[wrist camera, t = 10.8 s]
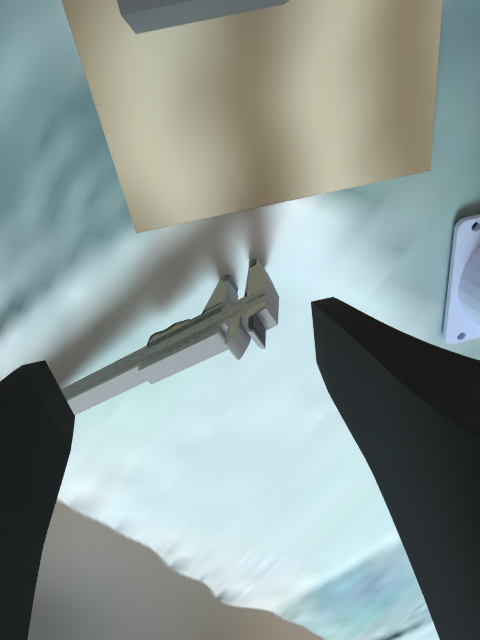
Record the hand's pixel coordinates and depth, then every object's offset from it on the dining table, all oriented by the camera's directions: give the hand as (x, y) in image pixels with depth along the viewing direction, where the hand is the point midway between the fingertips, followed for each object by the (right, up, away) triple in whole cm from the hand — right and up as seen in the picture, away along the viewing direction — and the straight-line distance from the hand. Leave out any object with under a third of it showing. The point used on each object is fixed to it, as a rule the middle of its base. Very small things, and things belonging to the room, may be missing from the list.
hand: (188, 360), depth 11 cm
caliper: (-6, -1, +12) cm, 14 cm away
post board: (+2, +13, +5) cm, 14 cm away
